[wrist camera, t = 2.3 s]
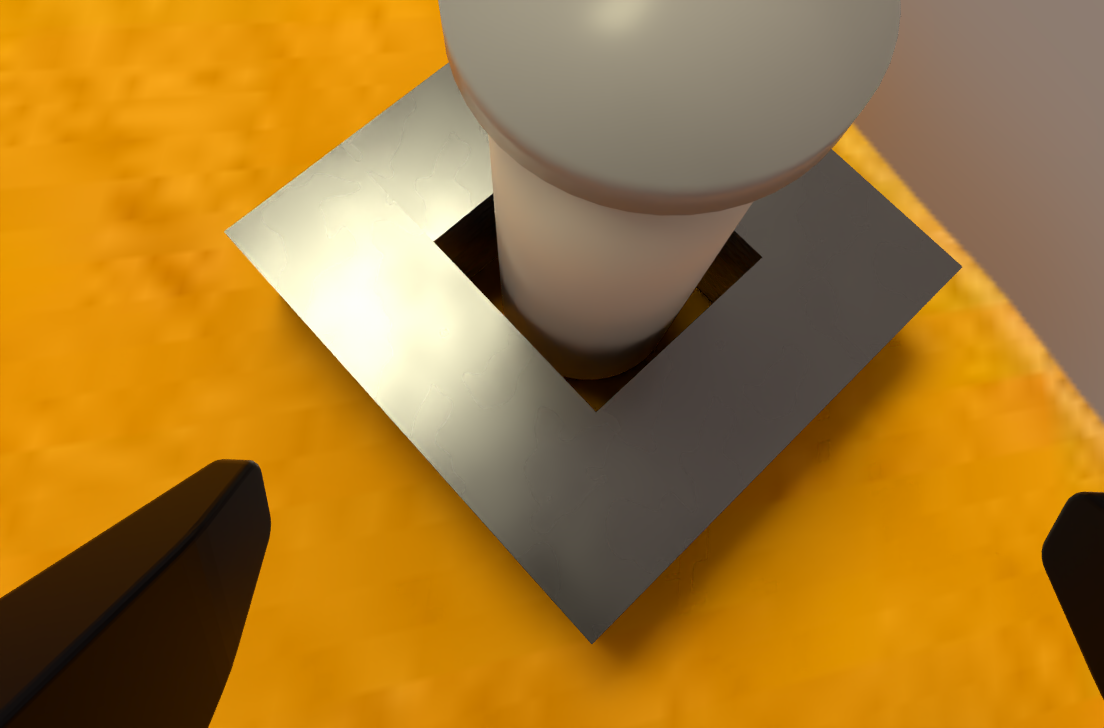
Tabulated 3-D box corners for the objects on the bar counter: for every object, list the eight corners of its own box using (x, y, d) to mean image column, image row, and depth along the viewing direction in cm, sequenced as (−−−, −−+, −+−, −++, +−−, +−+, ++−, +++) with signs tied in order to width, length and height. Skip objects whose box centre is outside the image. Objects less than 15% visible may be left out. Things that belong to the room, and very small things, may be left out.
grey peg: (728, 303, 21) (993, -7, 9) (583, 439, 20) (674, 283, 8) (589, 167, 22) (668, -272, 10) (442, 290, 21) (338, -47, 9)
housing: (884, 316, 22) (962, 266, 18) (577, 624, 19) (591, 644, 15) (591, 42, 24) (604, -55, 20) (278, 288, 21) (223, 231, 17)
